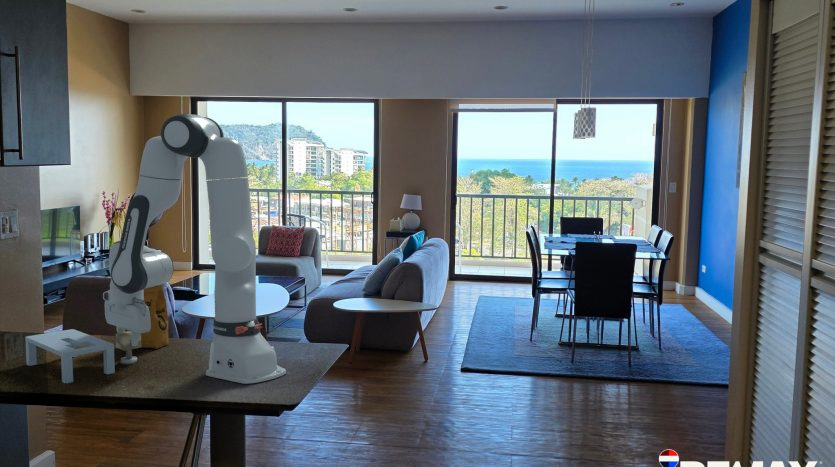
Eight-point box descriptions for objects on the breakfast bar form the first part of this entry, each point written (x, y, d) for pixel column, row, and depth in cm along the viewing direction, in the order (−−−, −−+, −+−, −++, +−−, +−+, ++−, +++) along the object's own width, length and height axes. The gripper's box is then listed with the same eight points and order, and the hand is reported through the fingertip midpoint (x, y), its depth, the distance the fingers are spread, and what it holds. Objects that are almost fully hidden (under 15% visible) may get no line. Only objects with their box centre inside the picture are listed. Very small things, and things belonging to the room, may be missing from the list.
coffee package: (154, 351, 213) (152, 279, 211) (120, 348, 216) (117, 277, 214) (174, 343, 222) (172, 275, 220) (141, 340, 226) (139, 273, 224)
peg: (141, 362, 201) (140, 333, 200) (124, 365, 197) (123, 336, 196) (133, 359, 204) (132, 330, 203) (116, 362, 200) (115, 333, 200)
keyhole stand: (114, 372, 190) (113, 344, 190) (65, 383, 181) (64, 353, 180) (73, 355, 207) (72, 329, 207) (26, 364, 198) (25, 336, 197)
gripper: (155, 298, 194) (157, 347, 196) (121, 290, 208) (122, 335, 209) (134, 302, 190) (135, 352, 191) (99, 292, 203) (101, 339, 204)
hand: (128, 343), depth 200 cm, fingers closed on peg, 5 cm apart
